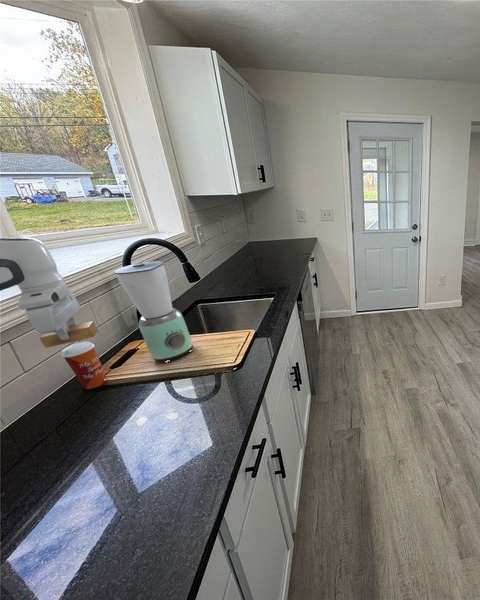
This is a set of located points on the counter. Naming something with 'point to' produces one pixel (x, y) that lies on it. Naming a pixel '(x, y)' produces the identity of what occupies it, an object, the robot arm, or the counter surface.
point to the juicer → (156, 310)
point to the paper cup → (85, 364)
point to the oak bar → (70, 334)
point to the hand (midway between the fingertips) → (70, 334)
